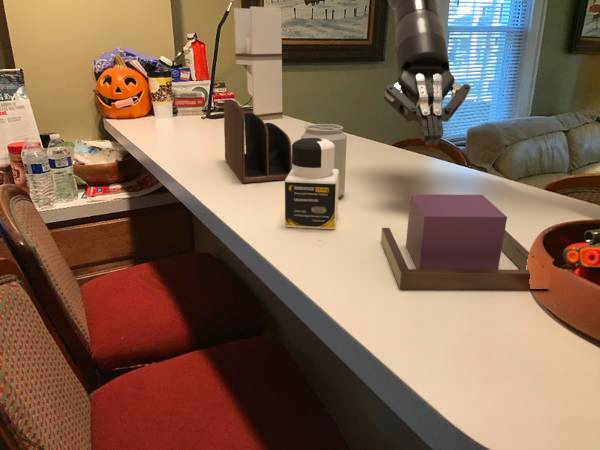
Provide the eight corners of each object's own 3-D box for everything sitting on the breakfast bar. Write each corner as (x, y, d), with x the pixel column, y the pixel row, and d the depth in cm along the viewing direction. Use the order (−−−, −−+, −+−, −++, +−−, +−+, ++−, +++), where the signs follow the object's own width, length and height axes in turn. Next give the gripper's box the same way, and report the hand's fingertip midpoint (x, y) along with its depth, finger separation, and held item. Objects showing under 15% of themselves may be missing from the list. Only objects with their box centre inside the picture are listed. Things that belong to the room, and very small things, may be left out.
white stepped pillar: (265, 114, 172) (262, 9, 159) (282, 117, 164) (281, 8, 152) (238, 117, 166) (233, 8, 153) (255, 121, 158) (251, 6, 145)
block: (474, 245, 61) (482, 194, 59) (497, 273, 54) (507, 216, 51) (405, 245, 62) (410, 194, 59) (418, 273, 54) (424, 216, 52)
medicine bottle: (284, 227, 67) (283, 144, 63) (292, 211, 74) (292, 134, 69) (334, 230, 66) (337, 145, 62) (337, 213, 73) (340, 135, 69)
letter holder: (242, 184, 88) (238, 107, 83) (224, 160, 105) (221, 95, 100) (293, 179, 90) (292, 104, 85) (268, 157, 108) (266, 94, 103)
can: (345, 202, 78) (348, 129, 73) (300, 202, 78) (300, 129, 73) (343, 189, 85) (345, 122, 80) (301, 189, 85) (301, 122, 80)
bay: (501, 242, 62) (503, 228, 62) (548, 290, 50) (552, 273, 50) (381, 241, 63) (381, 227, 62) (399, 289, 50) (401, 273, 50)
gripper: (382, 30, 70) (391, 126, 63) (470, 30, 70) (489, 126, 63) (375, 66, 77) (382, 156, 70) (455, 65, 77) (471, 156, 70)
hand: (433, 142), depth 67 cm, fingers closed
